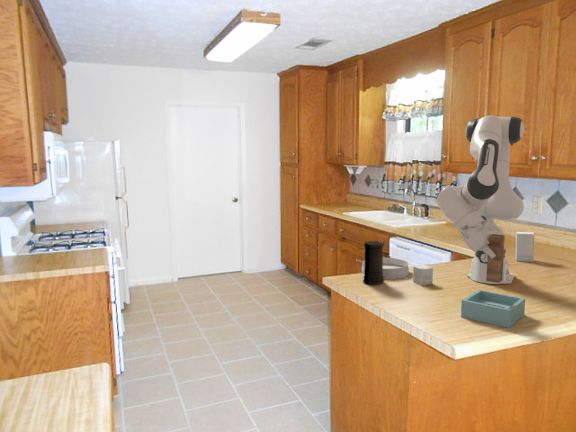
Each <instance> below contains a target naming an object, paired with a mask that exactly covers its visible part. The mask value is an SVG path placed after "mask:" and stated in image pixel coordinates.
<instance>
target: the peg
mask: <svg viewBox="0 0 576 432" xmlns="http://www.w3.org/2000/svg"><path fill="white" fill-rule="evenodd" d="M505 237H506V235H505V234H504V235H498V234H491V235H489V236H488V241H489V244H488V246H489V248H490V249H491V250H492V251H494V252H495V253H496V254H497V256H496V257H494V258H491V257H490V256H489V255H488V256H487V276H486V281H490V282H495V283H499V282H501V281H502V276H503V258H504V249H505V239H506V238H505Z"/></svg>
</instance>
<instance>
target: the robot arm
mask: <svg viewBox="0 0 576 432" xmlns="http://www.w3.org/2000/svg"><path fill="white" fill-rule="evenodd" d="M524 133H525V125H524V122H523V120H522V119H521V117H519V116H517V117H516V116H511V117H510V116H496V115H486V116H482V117H481V118H472V119H470V120H469V121H468V122H467V124H466V127H465V136H466V140H467V141H468V142H469V143H470V145H469V153H470V155H471V157H473V158H474V159H475V160H477V164H476V169H474V171H473V172H471V174H470V176H469V178H468V179H467V181H466V183H465V184H464V185H459V186H454V185H449V184H448V185H445V186H444V187H443V188H442V189H441V190H440V191H439V192H438V193H437V195H436V196H435V197H436V198H435V203H436V206H437V207H438V209H440V210H441V213H442V214H444V216H445V217H446V218H448V219H449V220H450V221H451V222H452V225H453V226H454V227H455V228H456V230H457V231H458V233H460V234H461V239H463V241H464V242H465V245H466V246H467V247H468V248H469V249H470V250H471V251H472V252H474V255H475V257H474V258H473V259H471V264H470V265H471V266H470V272H469V273H467V276H466V277H468V278H470V279H471V280H472V281H473V282H477V283H481V284H487V285H488V284H489V285H502V284H504V285H506V284H507V285H510V284H512V282H513V280H514V278H515V273H512V272H510V263H509V262H508V261H507V259H506V253H507V248H504V258H503V276H502V281H501V282H499V283H495V282H490V281H486V276H487V256H488V255H489V256H490V257H491V258H494V257H496V256H497V254H496V253H495V252H494V251H492V250H491V249H490V248H489V246H488V244H489V241H488V236H489V235H491V234H498V235H505V232H504V230H503V229H502V228H501V227H499V226H498V225H497V224H496V223H495V220H494V219H496V220H497V219H498V220H517V219H519V218H520V216H521V215H522V214H523V212H524V208H525V205H524V201H523V199H522V198H521V197H520V196H519V195H517V193H516V192H515V191H514V190H513V187H512V184H511V182H510V161H511V151H510V149H511V148H510V146H511V147H512V146H514V144H517V143H518V142H520V141H521V139H522V137H523V135H524Z"/></svg>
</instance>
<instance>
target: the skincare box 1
mask: <svg viewBox="0 0 576 432" xmlns="http://www.w3.org/2000/svg"><path fill="white" fill-rule="evenodd" d="M433 273H434V267H430V266H429V265H426V264H422V265H415V266H413V273H412V276H413V278H412V280H413V281H412V282H413V283H414V284H416V285H419V286H421V287H422V286H428V285H432V284H434V283H433V281H434V280H433V279H434V277H433V276H434V275H433Z"/></svg>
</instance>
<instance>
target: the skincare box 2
mask: <svg viewBox="0 0 576 432" xmlns="http://www.w3.org/2000/svg"><path fill="white" fill-rule="evenodd" d="M515 232H516V234H515V261H516V262H531V263H533V262H534V257H535V256H534V253H535V250H534V249H535V233H534V232H532V231H515Z"/></svg>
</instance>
